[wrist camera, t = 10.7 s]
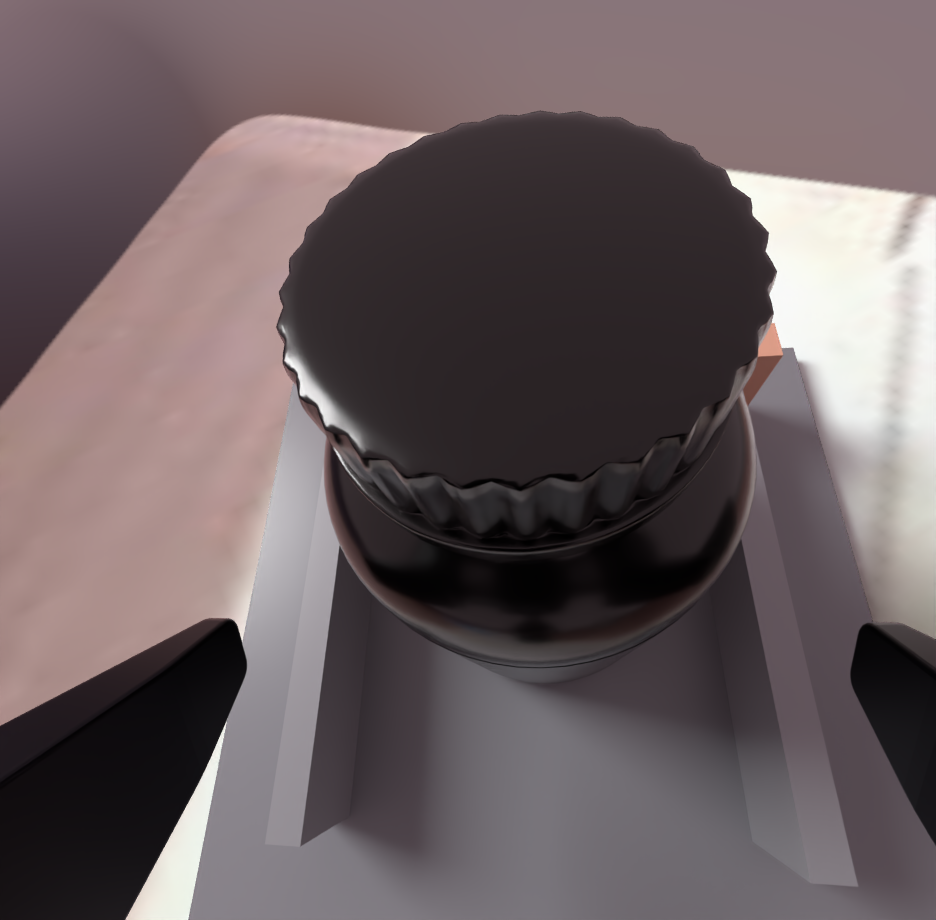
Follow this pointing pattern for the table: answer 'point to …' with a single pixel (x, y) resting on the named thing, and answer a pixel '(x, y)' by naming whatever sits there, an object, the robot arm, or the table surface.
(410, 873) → the bottle holder
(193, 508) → the table surface
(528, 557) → the supplement bottle
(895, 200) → the table surface
